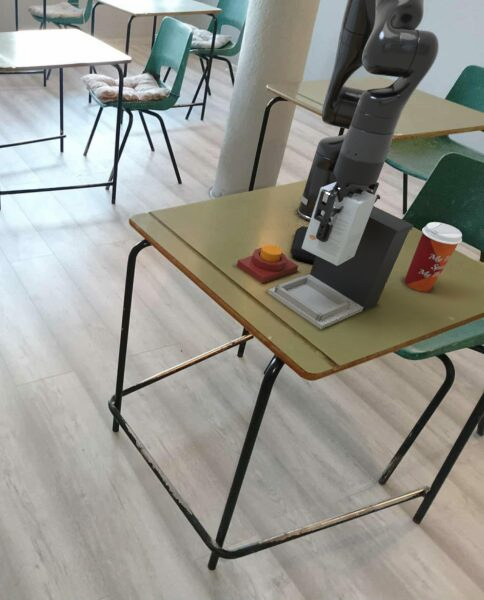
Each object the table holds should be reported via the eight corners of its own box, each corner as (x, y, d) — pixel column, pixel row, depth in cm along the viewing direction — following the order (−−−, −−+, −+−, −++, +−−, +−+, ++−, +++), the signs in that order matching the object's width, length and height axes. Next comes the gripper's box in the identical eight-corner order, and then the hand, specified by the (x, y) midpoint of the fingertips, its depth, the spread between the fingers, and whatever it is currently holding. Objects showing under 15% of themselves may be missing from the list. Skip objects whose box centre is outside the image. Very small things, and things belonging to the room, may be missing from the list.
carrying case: (335, 271, 130) (338, 243, 141) (339, 260, 128) (342, 232, 139) (287, 259, 133) (294, 233, 144) (291, 248, 131) (298, 222, 142)
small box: (354, 257, 111) (378, 195, 103) (336, 266, 107) (360, 204, 100) (317, 239, 115) (338, 179, 108) (300, 248, 112) (320, 187, 104)
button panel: (270, 255, 134) (273, 242, 132) (296, 271, 128) (300, 258, 126) (236, 266, 129) (239, 253, 127) (262, 284, 123) (266, 270, 121)
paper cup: (419, 297, 123) (447, 240, 115) (391, 278, 129) (416, 223, 121) (444, 290, 126) (473, 235, 118) (416, 272, 132) (441, 218, 124)
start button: (269, 250, 129) (271, 242, 128) (284, 259, 126) (286, 251, 125) (255, 255, 127) (257, 247, 126) (270, 264, 124) (272, 256, 123)
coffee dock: (322, 271, 129) (350, 195, 118) (377, 305, 120) (413, 224, 109) (267, 292, 121) (291, 211, 110) (321, 329, 111) (354, 245, 100)
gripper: (355, 167, 94) (324, 253, 103) (406, 154, 100) (373, 237, 110) (319, 151, 99) (293, 235, 108) (370, 140, 105) (341, 220, 115)
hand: (333, 235), depth 109 cm, fingers closed on small box, 6 cm apart
